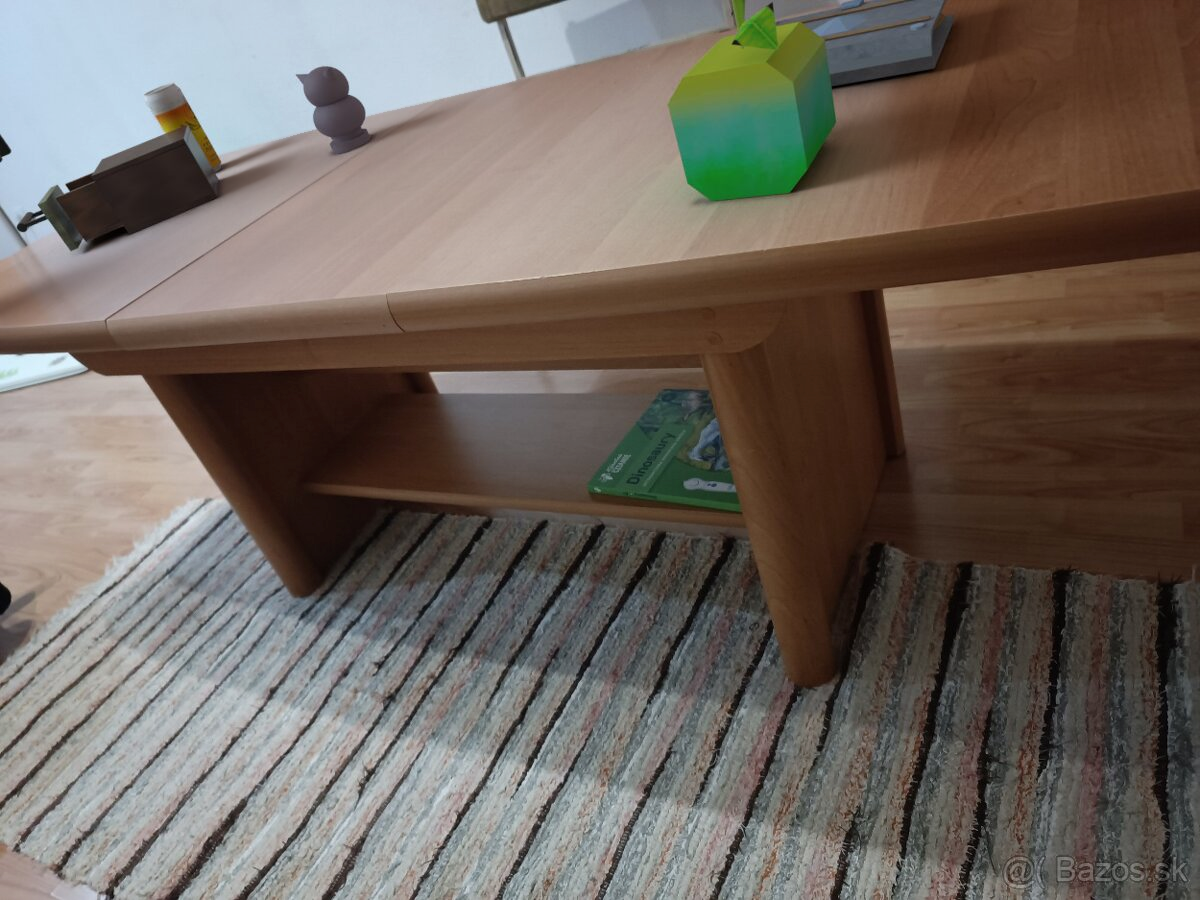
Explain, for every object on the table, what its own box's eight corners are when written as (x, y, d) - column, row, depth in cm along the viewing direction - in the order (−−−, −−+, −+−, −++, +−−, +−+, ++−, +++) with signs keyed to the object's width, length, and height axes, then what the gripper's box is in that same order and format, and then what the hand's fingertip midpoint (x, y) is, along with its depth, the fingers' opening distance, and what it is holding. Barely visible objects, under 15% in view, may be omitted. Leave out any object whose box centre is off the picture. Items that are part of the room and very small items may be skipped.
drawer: (37, 265, 134) (3, 218, 129) (50, 244, 143) (18, 200, 139) (153, 216, 136) (123, 169, 132) (159, 199, 145) (131, 154, 141)
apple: (692, 203, 78) (648, 28, 69) (727, 157, 84) (691, -9, 76) (810, 190, 72) (779, -1, 64) (839, 142, 79) (814, -38, 70)
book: (730, 110, 95) (720, 63, 92) (770, 58, 106) (763, 15, 103) (933, 75, 85) (929, 22, 82) (954, 22, 96) (952, -27, 93)
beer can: (226, 168, 153) (177, 82, 145) (193, 182, 152) (142, 97, 143) (221, 163, 158) (174, 80, 150) (189, 177, 157) (140, 94, 148)
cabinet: (129, 234, 135) (90, 176, 130) (136, 214, 146) (101, 159, 140) (217, 197, 137) (183, 138, 132) (219, 180, 148) (187, 124, 142)
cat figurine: (386, 131, 138) (352, 53, 131) (356, 152, 133) (319, 72, 126) (349, 137, 143) (314, 63, 136) (318, 158, 138) (280, 81, 131)
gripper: (-93, 48, 126) (-13, 159, 136) (-127, 59, 115) (-36, 180, 124) (-42, 29, 127) (34, 141, 137) (-71, 38, 115) (15, 159, 125)
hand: (0, 159), depth 130 cm, fingers open, 5 cm apart
